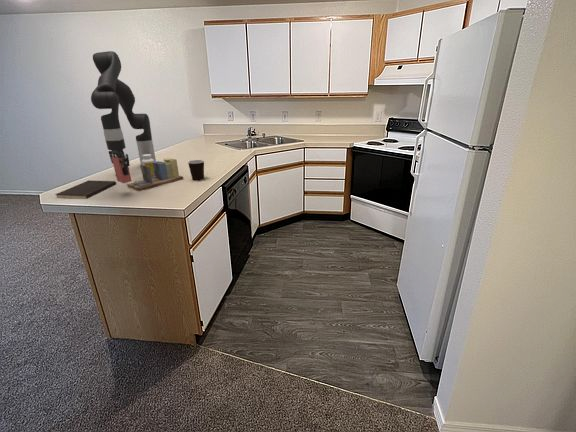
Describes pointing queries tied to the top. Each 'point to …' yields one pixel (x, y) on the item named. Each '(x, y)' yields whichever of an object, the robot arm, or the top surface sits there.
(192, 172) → the coffee mug
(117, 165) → the book
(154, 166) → the shelf
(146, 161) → the supplement bottle
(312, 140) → the top surface
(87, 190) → the hardcover book
